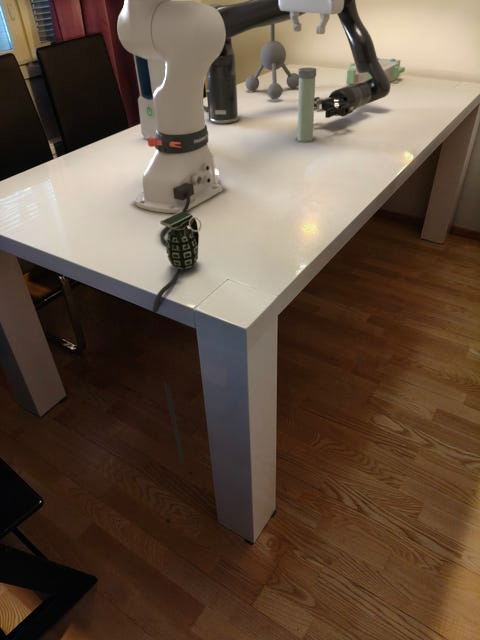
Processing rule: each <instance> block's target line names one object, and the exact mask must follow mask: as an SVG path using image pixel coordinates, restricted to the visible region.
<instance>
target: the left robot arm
mask: <svg viewBox="0 0 480 640" xmlns="http://www.w3.org/2000/svg"><path fill="white" fill-rule="evenodd" d="M343 7H344V0H279V8H280V10H281V11H290V18H291V20H290V21H291V23H292V31H293V32H298V33H299V32H301V31H302V23H301V22H300V20H299V17H300V16H299V12H305V14H318V15H319V19H320V22H319V24H318V25H316V28H315V29H316V31H315V33H316V35H324V34H325V33H326V26H327V24H328V22H329V20H330V15H338V13H341V11H342V9H343ZM298 16H299V17H298ZM117 18H118V19H117V24H116V25H117V35H118V40H119V41H120V43H121V45H122V47H123V48H124V49H125V50H126V51H127V52H128V53H130V54H132V55H133V56H134V55H136V56H139V57H141V58H144V59H148V60H158V61H165V63H166V73H165V79H164V82H163V83H162V84H160V85H159V86H158V87H157V88H156V90H155V92H154V95H153V101H154V108H155V114H156V121H157V128H158V129H157V130H156V138H152V137H150V138H149V139H147V146H149V147H151V148H152V147H154V148H155V151H154V153H153V155H152V157H151V159H150V162H149V163H148V165H147V167H146V169H145V172H144V173H143V176H142V192H140V193H139V195H138V196H137V197H135V199H134V205H135V206H137V207H138V208H140V209H142V210H143V209H144V210H147V211H151V212H157V213H164V214H177V213H179V212H181V211H184V212H187V211H189V210H190V209H193V208H194V207H196V206H198V205H199V204H201V203H203V202H205V201H207V200H208V199H210V198H212V197H214V196H215V195H217V194H219V193H220V192H222V191H223V185H222V184H220V183H219V180H218V176H219V175H220V172H219V170H218V169H217V168H216V163H215V156H214V155H213V153H212V152H211V149H210V147H209V145H208V143H209V130H208V126H207V124H206V120H205V119H206V118H205V109H204V106H205V103H204V88H205V83H206V79H207V72H208V70H209V67H210V66H211V64H212V63H213V61H214V60H215V59H216V58H217V57H218V56H219V55H220V53H221V51H222V49H223V47H224V43H225V36H226V33H225V25H224V22H223V19H222V17H221V15H220V13H219V12H218V11H217V10H216V9H215V8H214V7H211V6H209V5H208V4H205V3H202V2H200V1H195V0H124V3H123V7H122V9H121V11H120V12H119V15H118V17H117ZM169 230H171V227H170V228H169V227H166V226H164V228H163V229H161V232H160V234H159V237H160V241H161V242H162V243H163V244H164V245H165V246H167V238H165V234H166V233H168V231H169ZM183 271H184V270H183V269H180V268H177V270H176V271H175V273H174V274H173V276H172V278H171V279H170V280H169V281H168V283H166V284H165V285H164V286H163V287H161V289H160V290H159V291H158V293H156V296H155V298H154V302H153V307H152V313H157V312H158V311H159V307H160V306H159V305H160V302H161V299H162V297H163V295H164V294H165V293H166V292H167V291H168V290H169V289H170V288H172V286H173V285H174V284H175V283H176V281H177V280H178V278H179V276H180V275H181V273H182V272H183ZM163 384H164V389H165V394H166V399H167V404H168V410H169V414H170V417H171V423H172V428H173V432H174V437H175V442H176V445H177V446H176V447H177V451H178V456H179V462H180V464H181V465H184V464H185V459H184V453H183V448H182V447H183V446H182V442H181V438H180V432H179V429H178V428H179V427H178V422H177V417H176V413H175V408H174V403H173V398H172V392H171V387H170V384H168V383H167V382H165V381H163Z"/></svg>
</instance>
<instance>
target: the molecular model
mask: <svg viewBox="0 0 480 640" xmlns="http://www.w3.org/2000/svg"><path fill="white" fill-rule="evenodd" d="M275 25H276V24H272V25H270V40H269V41H267V42H266V43H264V44H263V45H262V47H261V49H260V52H259V60H260V65H259V67H258V68H257V71H256V72H255V74H254V75H250V76H248V77H247V78H246V79H245V87H246V89H247V90H248V91H250V92H254V91H257V90H258V89H259V87H260V79H259V76H260V74H261V73H262V71H263V69H264V68H265V69H266V70H269V71H271V77H272V83H271V84H269V86H267V95H268V97H269V98H270V99H272V100H278V99H279V98H280V97H281V96H282V94H283V87H282V85H281V84H280V83H278V81H277V79H278V78H277V70H278V69H280V68H282V71H284V73H285V74H286V75H287V77H286V85H287V87H288V88H290V89H296V88H299V76H298V73H296V72H291V71H290V70H289V68H288V67H287V66H286V64H285V63H286V62H285V61H286V58H287V52H286V49H285V46H284V45H283V44H282V43H281V42H279V41H278V40H276V38H275V36H276V35H275V33H276V32H275V31H276V30H275V28H276V27H275Z"/></svg>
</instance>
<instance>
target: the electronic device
mask: <svg viewBox="0 0 480 640" xmlns="http://www.w3.org/2000/svg"><path fill="white" fill-rule="evenodd" d="M133 60H134V61H133V62H134V65H135V72H136V79H137V86H138V90H139V97H138V98H137V103H138V113H139V123H140V129H141V130H140V131H141V135H142V136H143V138H144V139H146V140H148V139H149V138H150V137H152V138H156V130H157V129H158V128H157V121H156V114H155V108H154V101H153V95H154V92H155V90H156V88H157V87H158V86H159V85H160V84H162V83H163V82H164V79H165V73H166V63H165V61H158V60H148V59H144V58H141V57H139V56H136V55H134V54H133Z"/></svg>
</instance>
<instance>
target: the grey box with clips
mask: <svg viewBox="0 0 480 640" xmlns="http://www.w3.org/2000/svg"><path fill="white" fill-rule="evenodd" d="M377 59H378V61H379V63H380V65H381V66H382V68H383V70H384V72H385V73H386V75H387V77H388V78H389V81H390V83H391V82H393V81H394V80H395V81H397V80H398V76H399V75H401V74H402V73H404V72H405V70H406V67H404V66H401V59H396V58H391V59H390V58H379V57H377ZM371 78H372V76H371V75H370V74H369V73H358V71H357V69H356V65H355V62H354V63H350V64H349V67H348V69H347V72H346V84H348V85H354V84H357V83H362V82H364V81H367V80H369V79H371Z"/></svg>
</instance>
